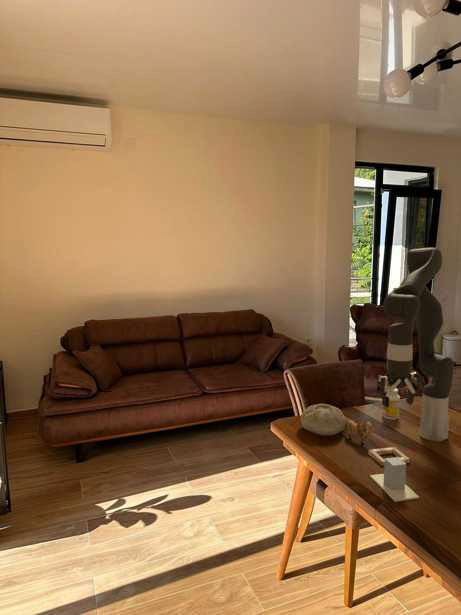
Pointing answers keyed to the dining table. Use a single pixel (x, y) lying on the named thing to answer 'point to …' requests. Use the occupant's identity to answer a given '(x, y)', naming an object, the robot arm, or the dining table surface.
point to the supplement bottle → (392, 406)
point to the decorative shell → (323, 419)
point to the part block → (394, 473)
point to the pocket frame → (376, 452)
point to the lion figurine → (359, 430)
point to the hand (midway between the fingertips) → (397, 405)
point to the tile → (395, 494)
